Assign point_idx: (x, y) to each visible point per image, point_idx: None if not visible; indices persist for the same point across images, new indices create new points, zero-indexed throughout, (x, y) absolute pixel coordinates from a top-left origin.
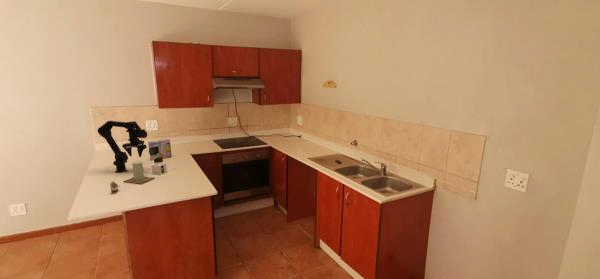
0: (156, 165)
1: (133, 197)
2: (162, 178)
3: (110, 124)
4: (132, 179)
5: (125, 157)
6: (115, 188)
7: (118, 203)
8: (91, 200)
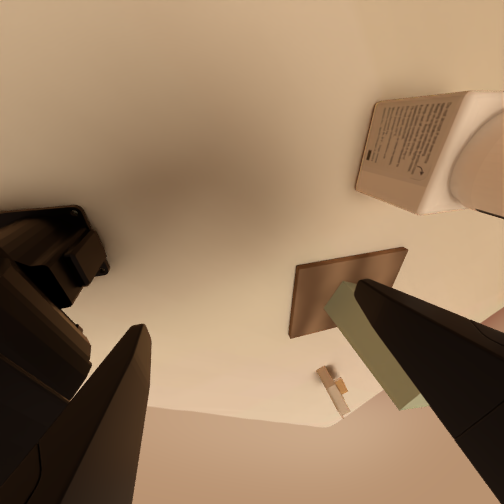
0: (466, 208)
1: None
2: (438, 227)
3: None
4: (314, 311)
5: (12, 344)
6: (344, 390)
7: (378, 384)
8: (307, 410)
